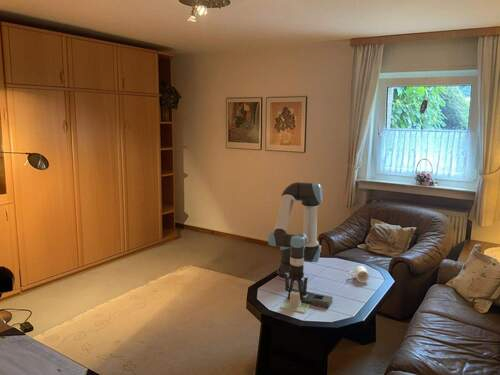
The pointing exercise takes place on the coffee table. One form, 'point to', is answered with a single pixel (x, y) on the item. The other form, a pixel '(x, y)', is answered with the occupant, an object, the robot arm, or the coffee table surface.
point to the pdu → (314, 298)
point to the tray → (301, 309)
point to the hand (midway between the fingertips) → (295, 304)
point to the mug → (360, 274)
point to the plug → (294, 300)
